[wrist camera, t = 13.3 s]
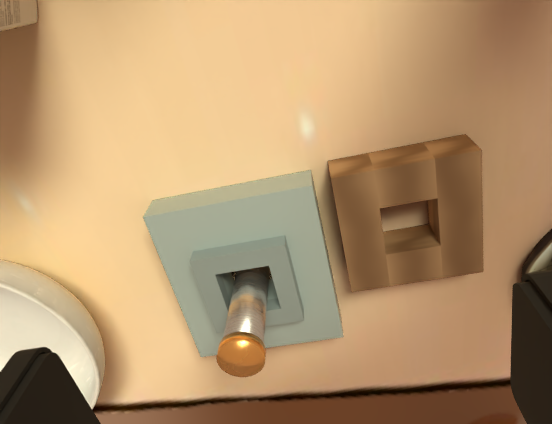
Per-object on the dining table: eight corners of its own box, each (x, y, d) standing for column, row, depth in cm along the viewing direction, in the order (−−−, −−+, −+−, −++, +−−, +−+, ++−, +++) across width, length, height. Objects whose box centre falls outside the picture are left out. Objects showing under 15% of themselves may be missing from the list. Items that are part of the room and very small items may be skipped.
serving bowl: (-128, 249, 44) (-196, 295, 37) (73, 211, 41) (34, 254, 35) (-17, 396, 53) (-56, 451, 47) (152, 373, 50) (133, 429, 44)
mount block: (465, 134, 36) (481, 150, 33) (469, 248, 41) (483, 271, 38) (327, 160, 37) (330, 178, 34) (347, 268, 43) (351, 292, 39)
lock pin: (267, 243, 42) (258, 338, 31) (276, 273, 43) (269, 373, 33) (232, 249, 42) (210, 345, 31) (241, 279, 44) (224, 379, 33)
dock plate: (310, 169, 38) (312, 193, 34) (340, 315, 45) (345, 349, 41) (153, 200, 40) (137, 226, 36) (206, 335, 47) (198, 369, 43)
